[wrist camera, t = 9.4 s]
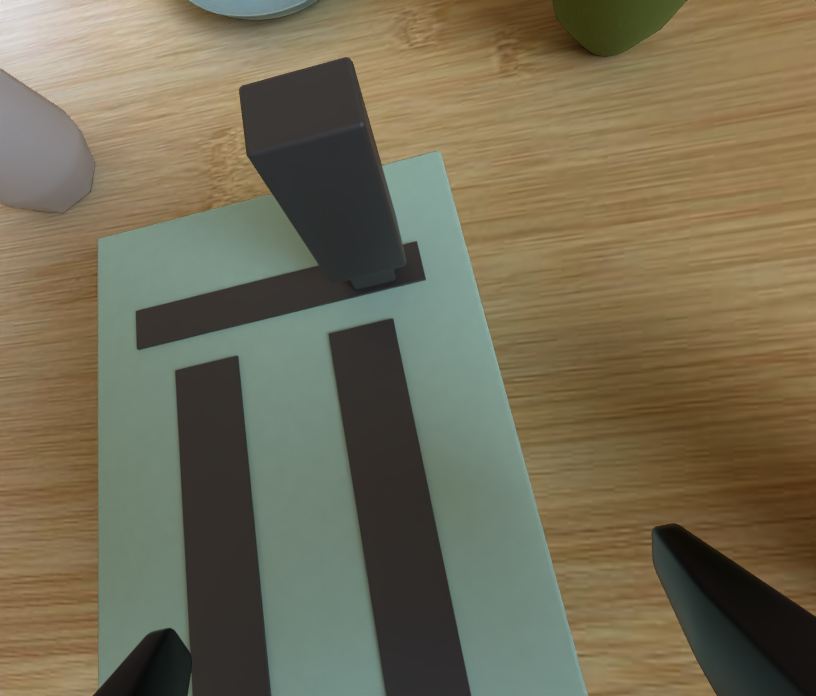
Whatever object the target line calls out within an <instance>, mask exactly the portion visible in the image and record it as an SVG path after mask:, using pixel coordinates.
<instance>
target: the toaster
mask: <svg viewBox="0 0 816 696" xmlns="http://www.w3.org/2000/svg"><path fill="white" fill-rule="evenodd" d="M382 168H383V171H384V175H385V178H386V182H387V185H388V189H389V193H390V196H391V200H392V203H393V207H394V210H395V214H396V217H397V222H398V226H399V231H400V235H401V240H402V244H403V248H404V253H405V257H406V265H405V266H403V267H399V268H395V274H396V280H394V281H391V282H387V283H383V284H379V285H375V286H371V287H367V288H363V289H359V290H355V289H354V287H353V286H352V284H351V282H350V280H346V281H342V282H338V283H330V281H329V280H328V278H327V277H326V275H325V274H324V272H323V271H322V269H321V268H320V266H319V265H318V263H317V262H316V260H315V259H314V257H313V255H312V254H311V252H310V251H309V249H308V248H307V246H306V245H305V243H304V242H303V240H302V239H301V237H300V236H299V234H298V233H297V231H296V229H295V228H294V226H293V225H292V223H291V222H290V220H289V219H288V217H287V216H286V214H285V213H284V211H283V210H282V208H281V207H280V205H279V204H278V202H277V200H276V199H275V197H274V196H273V194H268V195H264V196H260V197H257V198H253V199H249V200H245V201H241V202H237V203H234V204H230V205H226V206H222V207H218V208H214V209H210V210H207V211H203V212H199V213H195V214H191V215H187V216H183V217H180V218H176V219H172V220H168V221H164V222H160V223H156V224H153V225H149V226H145V227H141V228H137V229H133V230H129V231H126V232H122V233H118V234H114V235H110V236H106V237H102V238H99V239H98V689H99V688H100V687H101V686H102V685H103V684H104V682H105V681H106V680H107V679H108V678H109V677H110V676H111V675H112V673H113V672H114V671H115V670H116V669H117V668H118V667H119V665H120V664H121V663H122V662H123V661H124V660H125V659H126V657H127V656H128V655H129V654H130V653H131V652H132V651H133V649H134V648H135V647H136V646H137V645H138V644H139V643H140V642H141V640H142V639H143V638H144V637H145V636H146V635H147V634H148V633H150V632H152V631H155V630H160V629H165V628H172V629H174V630H175V631H176V633H177V634H178V635H179V637H180V638H181V640H182V641H183V643H184V644H185V646H186V647H187V649H188V650H189V652H190V654H191V657H192V670H191V677H190V684H189V690H188V696H588V694H587V690H586V686H585V683H584V679H583V675H582V672H581V668H580V664H579V661H578V657H577V653H576V649H575V646H574V642H573V638H572V635H571V631H570V627H569V624H568V620H567V616H566V613H565V609H564V605H563V602H562V598H561V594H560V590H559V587H558V583H557V579H556V576H555V572H554V568H553V565H552V561H551V557H550V554H549V550H548V546H547V543H546V539H545V535H544V531H543V528H542V524H541V520H540V517H539V513H538V509H537V506H536V502H535V498H534V495H533V491H532V487H531V484H530V480H529V476H528V472H527V469H526V465H525V461H524V458H523V454H522V450H521V447H520V443H519V439H518V436H517V432H516V428H515V425H514V421H513V417H512V414H511V410H510V406H509V402H508V399H507V395H506V391H505V388H504V384H503V380H502V377H501V373H500V369H499V366H498V362H497V358H496V355H495V351H494V347H493V343H492V340H491V336H490V332H489V329H488V325H487V321H486V318H485V314H484V310H483V307H482V303H481V299H480V296H479V292H478V288H477V284H476V281H475V277H474V273H473V270H472V266H471V262H470V259H469V255H468V251H467V248H466V244H465V240H464V237H463V233H462V229H461V225H460V222H459V218H458V214H457V211H456V207H455V203H454V200H453V196H452V192H451V189H450V185H449V181H448V178H447V174H446V170H445V167H444V163H443V159H442V155H441V153H440V151H434V152H430V153H426V154H422V155H419V156H415V157H411V158H407V159H403V160H399V161H395V162H392V163H388V164H384V165H382Z"/></svg>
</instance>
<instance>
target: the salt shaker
mask: <svg viewBox="0 0 816 696" xmlns="http://www.w3.org/2000/svg"><path fill="white" fill-rule="evenodd" d="M94 167H95V162H94V160H93V158H92V155H91V153H90V151H89V148H88V146H87V143H86V141H85V139H84V136H83V134H82V132H81V130H80V129H79V128H78V127H77V125H76V124H75V123H74V122H73V120H72V119H71V118H70V117H69V116H68V115H67V114H66V112H65V111H64V110H63V109H61V108H60V107H58V106H57V105H55V104H54V103H52V102H50V101H49V100H47V99H46V98H44V97H43V96H41V95H40V94H38V93H37V92H35V91H34V90H32V89H31V88H29V87H28V86H26V85H25V84H23V83H22V82H20V81H19V80H17V79H16V78H14V77H13V76H11V75H10V74H8V73H7V72H5V71H4V70H2V69H1V68H0V203H1V204H4V205H6V206H9V207H14V208H22V209H30V210H34V211H45V212H56V213H64V212H65V211H66V210H68V209H69V208H70V207H72V206H73V205H74V204H75V203H77V202H78V201H79V200H81V199H82V198H83V197H84V196H86V195H87V194H88V193H89V192H90V191H91V185H92V179H93V173H94Z"/></svg>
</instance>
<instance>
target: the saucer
mask: <svg viewBox="0 0 816 696" xmlns="http://www.w3.org/2000/svg"><path fill="white" fill-rule="evenodd" d="M189 1H190V2H191V3H193V4H194V5H196V6H198V7H200V8H202V9H204V10H207V11H210V12H212V13H216V14H219V15H223V16H227V17H232V18H237V19H247V20H263V19H272V18H278V17H282V16H287V15H290V14H293V13H296V12H298V11H301V10H303V9H305V8H307V7H309V6H311V5H312V4H314V3H316V2H317V1H319V0H189Z"/></svg>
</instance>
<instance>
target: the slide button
mask: <svg viewBox="0 0 816 696" xmlns="http://www.w3.org/2000/svg"><path fill="white" fill-rule="evenodd" d="M239 94H240V103H241V111H242V119H243V128H244V136H245V145H246V153H247V156H248V158H249V159H250V161H251V162H252V164H253V165H254V167H255V168H256V170H257V171H258V173H259V174H260V176H261V178H262V179H263V181H264V182H265V184H266V185H267V187H268V188H269V190H270V191H271V193H272V194H273V196H274V197H275V199H276V200H277V202H278V204H279V205H280V207H281V208H282V210H283V211H284V213H285V214H286V216H287V217H288V219H289V220H290V222H291V223H292V225H293V226H294V228H295V229H296V231H297V233H298V234H299V236H300V237H301V239H302V240H303V242H304V243H305V245H306V246H307V248H308V249H309V251H310V252H311V254H312V255H313V257H314V259H315V260H316V262H317V263H318V265H319V266H320V268H321V269H322V271H323V272H324V274H325V275H326V277H327V278H328V280H329V281H330V283H338V282H342V281H346V280H350V282H351V284H352V286H353V287H354V289H355V290H359V289H363V288H367V287H371V286H375V285H379V284H383V283H387V282H391V281H394V280H396V274H395V268H399V267H403V266H405V265H406V257H405V253H404V248H403V244H402V240H401V235H400V231H399V226H398V222H397V217H396V214H395V210H394V207H393V203H392V200H391V196H390V193H389V189H388V185H387V182H386V178H385V175H384V171H383V168H382V164H381V161H380V157H379V154H378V150H377V146H376V143H375V139H374V136H373V132H372V129H371V125H370V122H369V118H368V115H367V111H366V107H365V104H364V100H363V97H362V93H361V90H360V86H359V83H358V79H357V76H356V72H355V68H354V65H353V62H352V61H351V59H350V58H347V57H345V58H341V59H338V60H334V61H330V62H327V63H323V64H319V65H316V66H312V67H308V68H305V69H301V70H297V71H294V72H290V73H287V74H283V75H279V76H276V77H272V78H268V79H265V80H261V81H257V82H254V83H250V84H246V85H243V86H241V87H240V89H239Z"/></svg>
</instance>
